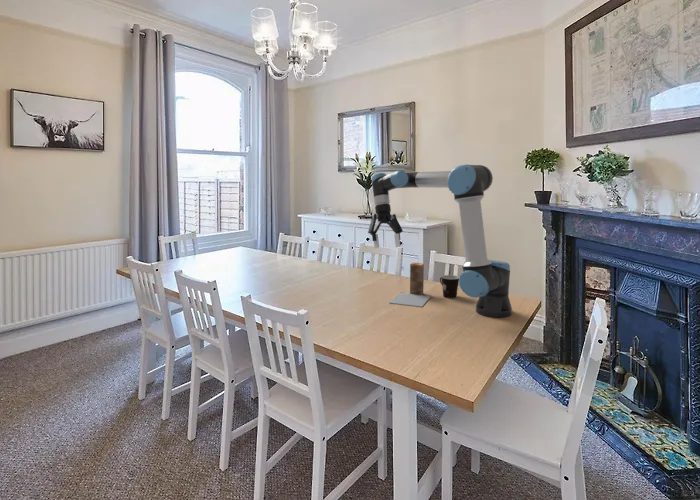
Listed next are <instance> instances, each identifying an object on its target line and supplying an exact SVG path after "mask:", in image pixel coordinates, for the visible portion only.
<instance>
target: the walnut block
mask: <svg viewBox="0 0 700 500" xmlns="http://www.w3.org/2000/svg"><path fill="white" fill-rule="evenodd" d="M409 266H410V267H409V294H416V295H424V287H425V286H424V281H425V280H424V279H425V277H424V275H425V273H424V271H425V270H424V269H425V268H424V267H425V263H424V262H411V263H410V264H409Z"/></svg>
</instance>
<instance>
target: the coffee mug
mask: <svg viewBox="0 0 700 500" xmlns="http://www.w3.org/2000/svg"><path fill="white" fill-rule="evenodd" d="M459 278H460V276H458V275H454V274H447V275H445V274H444V275H442V276H441V277H440V278H439V282H440V284H441V287H442V295H443V296H442V297H443V298H445V299H456V298H457V296H458V289H459V288H458V287H459Z"/></svg>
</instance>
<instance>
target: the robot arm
mask: <svg viewBox="0 0 700 500" xmlns="http://www.w3.org/2000/svg"><path fill="white" fill-rule="evenodd" d="M493 179H494V178H493V173H492V171H491V170H490V169H489V168H488V167H487V166H486V165H482V164H461V165H457V166H455V167H453V169H452V170H444V171H443V170H438V171H409V172H408V171H407V172H406V171H404V170H402V169H399V170H395V171H393V172H392V173H389V174H386V173H384V172H378V173H375V174H373V175H372V176H371V186H372V187H371V188H372V193H373V201H374V206H375V207H374V209H375V213H374V214H371V220H370V225H369V228H368V231H367V233H368V234H369V235H371V237H372V242H373V245H374V249H378V248H380V242H379V234H378V231H379V229H380V227H381V225H382V224H383V225H385V224H386V225H388V226H389V227H390V228H391V230H392V231H393V233H394V236H393V237H394V244H395V248H398V247H401V233H403V232H404V231H403V228H402V227H401V225H400V223H399V221H398V218H397V216H396V213H394V214H391V211H392V209H391V204H390V203H391V200H390V193H389V191H391V190H395V189H407V188H439V189H442V188H445V189H448V190H449V191H450V192H451V193H452V194H453V196H454V201H455V202H456V203H458V206H459V216H460V224H461V225H460V226H461V232H462V240H463V249H464V259H465V261H464V263H463V264H462V273H461V274H460V276H459V282H458V286H459V287H460V289H461V291H462V292H463V293H464V294H465V295H466V296H468V297H470V298H473V299H475V298H477V299H478V300H477V302H476V305H475V312H476V313H477V314H479V315H482V316H483V317H490V318H506V317H510V316H511V315H512V312H513V308H512V304H511V300H510V297H509V289H510V275H511V274H510V273H511V266H510V263H508V262H505V261H501V260H492V259H491V260H490V259H488V254H487V247H486V246H487V245H486V238H485V228H484V221H483V209H482V203H481V201H482V200H483V198H484V197H485V193H484V192H486V191H487V190H489V188H490V187H491V185H492V184H493Z"/></svg>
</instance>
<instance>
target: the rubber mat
mask: <svg viewBox="0 0 700 500" xmlns="http://www.w3.org/2000/svg"><path fill="white" fill-rule="evenodd" d="M431 297H432V296H431V295H424V294H422V295H416V294H410V293H407V292H406V293H404V292H400V293H399V294H397V295H396V296H395V297H394V298H393V299H391V300H390V301H389V304H393V305H401V306H402V305H403V306H408V307H416V308H417V307H419V308H423V307H424V305H426V303H427V302H428V301H429V300H430V299H431Z"/></svg>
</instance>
